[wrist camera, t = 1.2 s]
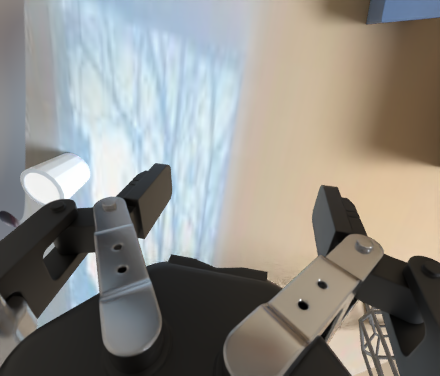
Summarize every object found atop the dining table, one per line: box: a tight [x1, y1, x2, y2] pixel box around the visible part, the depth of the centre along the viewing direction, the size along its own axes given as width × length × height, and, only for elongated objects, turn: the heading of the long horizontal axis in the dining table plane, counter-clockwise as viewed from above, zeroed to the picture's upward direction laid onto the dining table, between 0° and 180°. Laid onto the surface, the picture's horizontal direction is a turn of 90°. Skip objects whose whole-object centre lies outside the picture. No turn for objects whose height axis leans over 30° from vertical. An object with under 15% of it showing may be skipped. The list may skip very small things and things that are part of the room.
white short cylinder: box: [20, 153, 90, 206], centre depth 39 cm, size 7×7×7 cm
